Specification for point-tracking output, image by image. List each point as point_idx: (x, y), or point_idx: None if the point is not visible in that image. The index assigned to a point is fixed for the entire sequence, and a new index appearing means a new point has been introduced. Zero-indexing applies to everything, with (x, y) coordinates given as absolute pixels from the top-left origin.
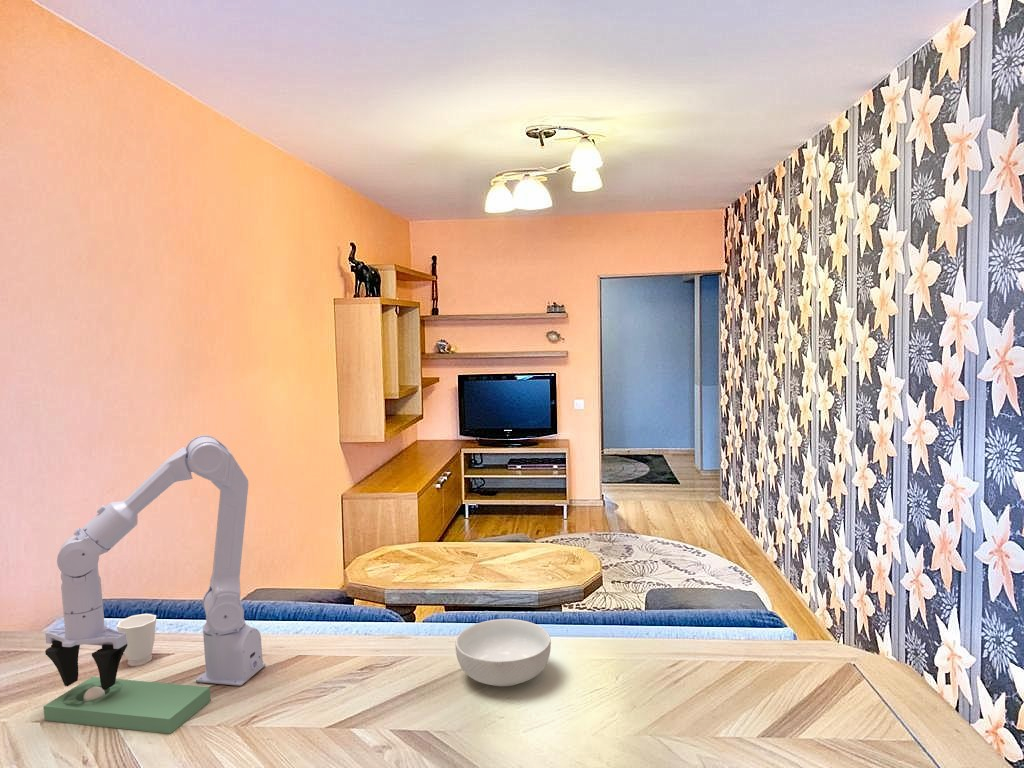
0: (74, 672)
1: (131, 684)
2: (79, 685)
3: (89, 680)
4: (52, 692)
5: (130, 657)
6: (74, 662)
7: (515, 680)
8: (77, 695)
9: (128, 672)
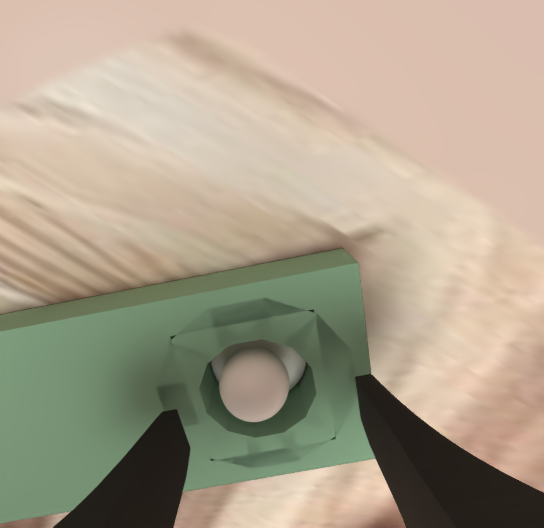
0: (376, 445)
1: None
2: None
3: (363, 439)
4: (485, 367)
5: None
6: (401, 498)
7: None
8: (310, 364)
9: (350, 507)
